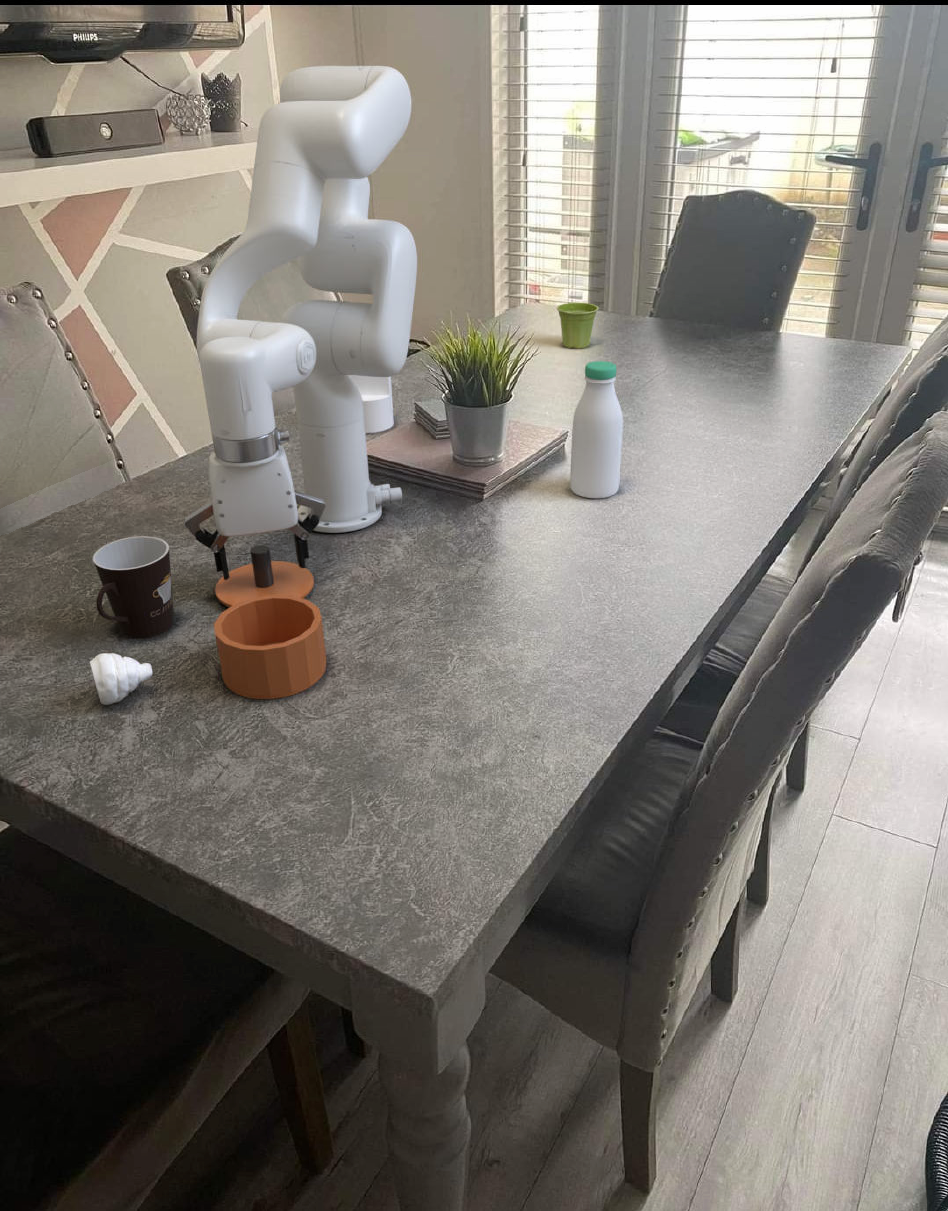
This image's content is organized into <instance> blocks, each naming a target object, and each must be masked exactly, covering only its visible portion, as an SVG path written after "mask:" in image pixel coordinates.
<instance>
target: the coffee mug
mask: <svg viewBox="0 0 948 1211" xmlns="http://www.w3.org/2000/svg"><path fill="white" fill-rule="evenodd" d="M170 556H171V555H170V544H168V542H167V541H166V540H164V539H162V538H159V537H155V536H144V535H141V536H140V535H139V536H129V537H125V538H120V539H117V540H113V541H111V542H108V543H106V544H105V545H102V546H100V548H98V549H97V550H96V551H95V552H94V554H93V555H92V561H93V564H94V567H95V569H96V572H97V574H98V577H99V580H100V582H101V585H102V587H101V588H100V590H99V591H98V594H97V596H96V610H97V613H98V615H99V616H100V617H102V619H105V620H108V621H110V622H111V621H112V622H116V623H117V626H118V628H119V631H120V633H121V634H122V635H123V636H124V637H127V638H130V639H136V640H137V639H140V640H141V639H148V638H149V639H150V638H154V637H157V636H159V635H162V634H164V633H165V632H167V631H168V630H170V629H171V628H172V627H173V625H174V623H175V617H174V603H173V588H172V587H173V586H172V572H171V557H170ZM105 595H106V598H107V600H108V602H109V604H110V607H111V610H112V613H113V616H112V615H109V614H107V613H106V612H105V610H104V608H103V599H104V596H105Z"/></svg>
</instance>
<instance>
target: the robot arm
mask: <svg viewBox="0 0 948 1211" xmlns="http://www.w3.org/2000/svg"><path fill="white" fill-rule="evenodd" d="M411 114H412V95H411V90H410V86H409V84H408V82H407V80H406V78H405V76H404V75H403V74H402V73H401V72H400V71H399V70H397V69H396V68H394V67H391V66H388V65H313V66H305V67H300V68H296V69H295V70H292V71H289V73H288V74H286V75H284V77H283V79H282V80H281V83H280V87H279V103H276V104H273V105H272V106H270V107H268V109H267V110H266V111H265V112H264V113H263V115H262V117H261V120H260V122H259V127H258V133H257V140H256V148H255V157H254V165H253V173H252V180H251V181H252V182H251V190H250V197H249V204H248V212H247V213H248V214H247V221H246V225H245V228H244V230H243V232H242V233H241V234H240V235H239V237H238V238H237V239H236V240H234V242H233V243H232V244H231V245H230V246H229V247H228V248H227V250H226V251H225V252H224V253H223V254H222V255H221V257H220V258H219V260H218V261H217V263H216V264H215V266H214V267H213V269H212V271H211V272H210V273H209V276H208V277H207V279H206V282H205V284H204V286H203V290H202V294H201V298H200V303H199V312H198V321H197V328H196V354H197V357H198V358H197V359H198V362H199V365H200V372H201V377H202V378H201V379H202V384H203V389H204V396H205V401H206V408H207V412H208V413H207V414H208V421H209V427H210V433H211V438H212V444H213V450H214V452H212V453H211V454H210V455H209V456H208V482H209V492H210V497H211V498H210V501H209V502H206V504H204V505H203V506H201V507H199V508H198V509H196V510H195V511H193V512H192V513H190V514H187V516H186V517H185V518H184V526H185V528H186V529H187V530H188V531H189V532H190V533H191V534H192V536H193V537H195V539H196V541H197V542H199V543H200V544H202V545H203V546H205V547H206V548H208V549H209V550H210V551H211V553H213V557H214V562H215V568H216V572H217V573H219V572H222V577H223V576H224V580H228V578H230V577H229V572H230V571H229V566H228V560H227V554H226V548H225V547H226V546H225V544H226V543H227V541H228V540H229V538H235V537H242V536H243V537H244V536H250V535H257V534H265V533H270V532H278V531H284V530H289V531H291V532H292V534H293V538H294V545H295V554H296V560H297V564H298V565H299V567H300V568H306V559H310V552H309V545H308V544H309V543H308V539H309V538H310V534H312V532H313V531H314V532H318V533H327V534H341V533H349V532H355V531H359V530H362V529H364V528H367V527H369V526H371V525H373V524H374V523H376V522H377V521H379V519H380V518H381V516H382V513H383V511H382V509H383V508H382V503H383V502H396V501H402V500H403V492H402V488H401V487H400V486H399V487H391V485H390V484H389V483H384V484H379V485H375V484H372V483H371V480H370V476H369V462H368V451H367V450H368V448H367V447H368V446H367V433H365V420H364V406H363V400H362V397H361V394H360V392H359V390H358V388H357V386H356V384H355V382H354V381H353V379H352V378H351V376H350V375H357V376H369V377H390V376H391V377H393V376H396V375H397V374H399V373H400V372H401V371H402V369H403V368H404V366H405V363H406V361H407V358H408V357H407V356H408V353H409V347H410V340H411V330H412V320H413V312H414V303H415V295H416V294H415V293H416V286H417V274H418V253H417V252H418V251H417V247H416V241H415V239H414V236H413V234H412V231H411V230H409V228H408V227H407V226H405V225H404V224H402V223H401V222H398V221H396V220H390V219H376V218H375V219H374V218H372V219H371V218H369V208H370V207H369V206H370V197H371V184H370V181H369V178H368V177H369V176H371V175H372V174H374V173H375V172H376V170H377V169H378V168H380V166H381V165H382V164H383V163H384V161H385V160H386V159H387V157H388V156H389V155H390V153H391V152H392V151H393V150H394V148H395V147H396V146H397V144H399V142H400V141H401V139H402V138H403V136H404V135H405V133H406V130H407V128H408V126H409V122H410V118H411V116H412V115H411ZM297 259H299V268H300V269H299V270H300V274H301V277H302V279H303V281H304V282H305V284H306V285H308V286H309V287H311V288H312V289H316V290H318V291H323V292H327V293H329V292H330V293H338V294H357V295H371V296H372V303H370V302H369V303H368V302H355V301H353V302H351V301H347V300H346V301H345V300H327V299H326V300H325V299H307V300H302V301H299V302H296V303H294V304H293V305H291V306H290V307H289V308H287V310H286V311H285V312H284V313H283V315H282V318H281V320H280V322H275V321H273V322H272V321H263V320H253V319H252V320H250V319H249V320H248V319H238V314H239V310H240V307H241V304H242V302H243V299H244V298H245V297H246V294H247V292H248V291H249V290H250V289H251V287H252V286H253V285H254V284H255V283H256V282H257V281H258V280H260V279H261V278H263V276H265V275H267V274H269V273H270V272H272V271H274V270H276V269H278V268H280V267H282V266H284V265H287V264H288V263H291V262H293V261H294V260H297ZM291 388H292V390H293V397H294V405H295V414H296V420H297V421H296V422H297V429H298V430H297V431H298V439H299V448H300V449H299V450H300V457H301V466H302V474H303V483H304V492H301V491H299V490H295V487H294V482H293V477H292V472H291V468H290V465H289V459H288V456H287V454H286V451H285V449H284V447H283V446H281V444H282V443H284V442H289V441H290V433H289V429H283V430H282V429H281V428H280V429H279V427H277V426H276V420H275V410H274V405H273V394H274V393H276V392H280V391H283V390H287V389H291ZM298 505H299V507H298ZM211 517H213V518H214V524H215V529H214V530H213V532H210V531H208V530H206V529H205V528H203V527H202V526H201V523H203V522H205V521H206V520H208V519H209V518H211Z"/></svg>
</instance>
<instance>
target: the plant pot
mask: <svg viewBox="0 0 948 1211" xmlns="http://www.w3.org/2000/svg"><path fill="white" fill-rule="evenodd" d="M556 310H557V311H558V316H559V319H560V329H561V339H562V345H563V346H564V347H565V348H568V349H572V348H574V349H585V348H588V347H589V346H590V344H591V337H592V333H593V332H592V331H593V326H594V320H595V317H596V315H597V312H598V311H599V306H598V305H597V304H594V303H588V302H566V303H562V304H558V305H557V307H556Z"/></svg>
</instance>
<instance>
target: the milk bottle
mask: <svg viewBox="0 0 948 1211" xmlns="http://www.w3.org/2000/svg"><path fill="white" fill-rule="evenodd" d="M584 368H585V369H584V380H585V387H584V389H583V393H582V395H581V397H580V399H579V401H578V403H577V405H576V407H575V410H574V414H573V419H572V430H571V447H570V449H571V450H570V473H569V474H570V475H569V488H570V489H571V492H573V494H575V495H577V496H580V497H583V498H589V499H603V498H605V499H606V498H609V497H612V496H614V495H616V493H617V492H618V491H619V488H620V479H621V464H622V452H623V451H622V450H623V435H624V434H623V430H624V417H623V411H622V407H621V404H620V402H619V399H618V396H617V393H616V389H615V381H616V380H617V378H616V376H617V365H616V364H615V363H613V362H611V361H605V360H596V361H591V362H588V363H586V365H585V366H584Z"/></svg>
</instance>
